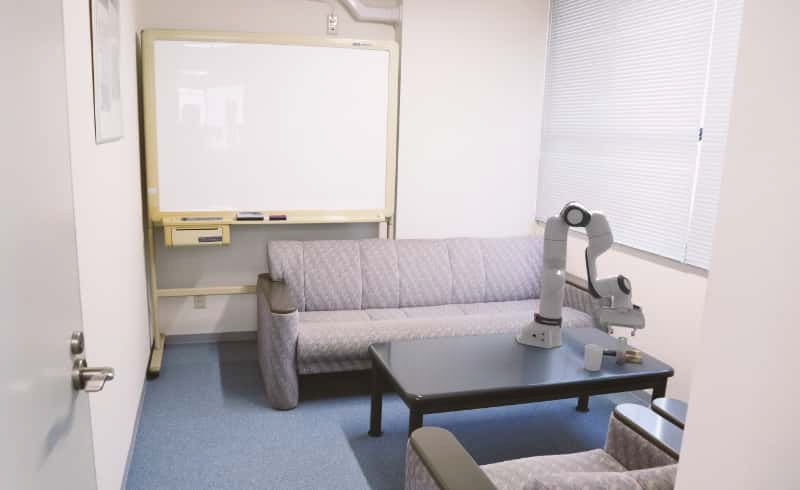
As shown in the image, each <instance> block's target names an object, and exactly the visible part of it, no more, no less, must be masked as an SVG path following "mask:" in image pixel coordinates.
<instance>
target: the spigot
mask: <svg viewBox="0 0 800 490" xmlns="http://www.w3.org/2000/svg"><path fill="white" fill-rule="evenodd" d="M627 345H628V338H627V337H624V336H618V338H617V346H616V347H617V348H616V356H615V364H616V365H620V366H623V365H625V363H626V361H625V356H626V349H628V348H627V347H628V346H627Z"/></svg>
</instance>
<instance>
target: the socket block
mask: <svg viewBox="0 0 800 490" xmlns="http://www.w3.org/2000/svg"><path fill="white" fill-rule="evenodd" d="M625 362H632V363H637V364H638V363H639V364H642V363H643V356H642V353H641V351H640V350H636V349H629V348H626V356H625Z"/></svg>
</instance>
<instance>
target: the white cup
mask: <svg viewBox="0 0 800 490" xmlns="http://www.w3.org/2000/svg"><path fill="white" fill-rule="evenodd" d="M603 349H604V347H602V346H600V345H598V344H591V343H589V344H586V345H584V355H583V356H584V357H583V358H584V365H583V369H585V370H587V371H590V372H599V371H600V369H601V366H602V360H603V355H604V354H603Z"/></svg>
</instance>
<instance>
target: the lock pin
mask: <svg viewBox="0 0 800 490" xmlns="http://www.w3.org/2000/svg"><path fill="white" fill-rule="evenodd" d="M616 353H617V350H615V349H608V348H607V349H606V348H603V355H608V356H615V357H616Z"/></svg>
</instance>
